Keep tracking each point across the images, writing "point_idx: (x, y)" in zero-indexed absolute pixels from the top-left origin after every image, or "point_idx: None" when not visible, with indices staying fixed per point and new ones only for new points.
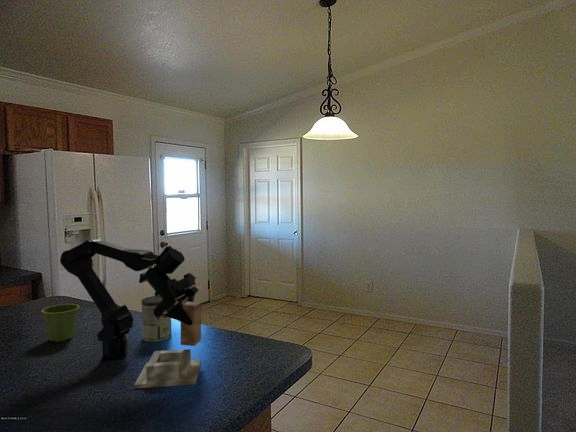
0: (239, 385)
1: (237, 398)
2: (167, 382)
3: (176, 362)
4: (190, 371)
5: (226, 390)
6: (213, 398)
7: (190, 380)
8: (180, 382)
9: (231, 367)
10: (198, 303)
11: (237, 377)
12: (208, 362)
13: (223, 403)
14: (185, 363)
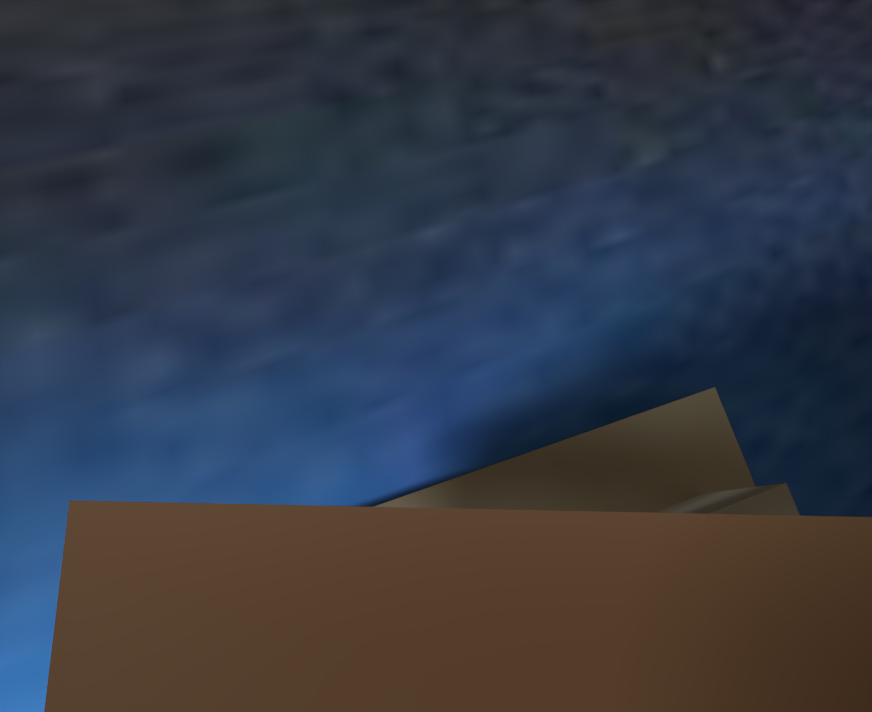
0: (623, 51)
1: (787, 31)
2: None
3: None
4: None
5: (715, 126)
6: (836, 185)
7: (726, 435)
8: None
9: (321, 186)
10: (353, 565)
11: (503, 91)
12: (240, 459)
13: (867, 104)
14: (776, 496)
